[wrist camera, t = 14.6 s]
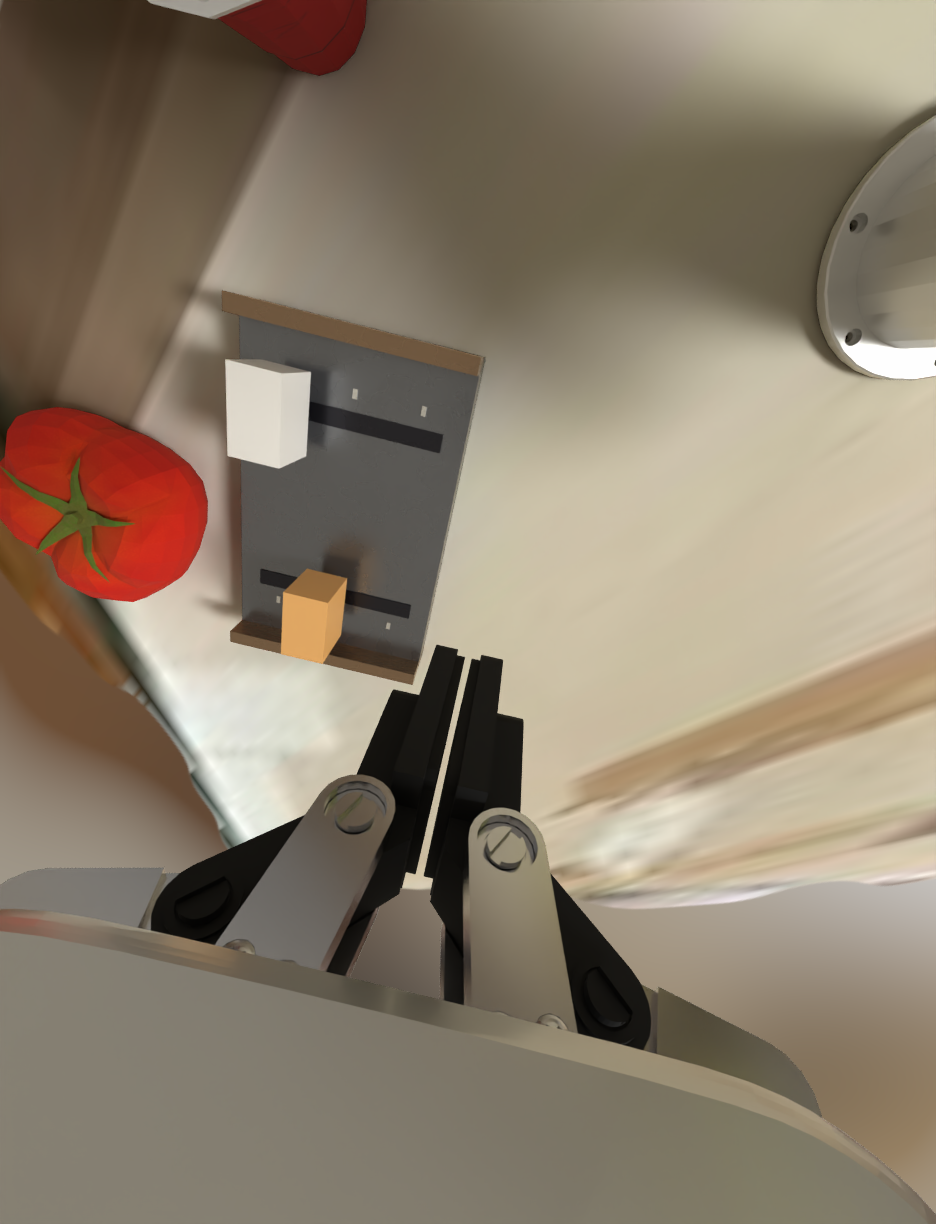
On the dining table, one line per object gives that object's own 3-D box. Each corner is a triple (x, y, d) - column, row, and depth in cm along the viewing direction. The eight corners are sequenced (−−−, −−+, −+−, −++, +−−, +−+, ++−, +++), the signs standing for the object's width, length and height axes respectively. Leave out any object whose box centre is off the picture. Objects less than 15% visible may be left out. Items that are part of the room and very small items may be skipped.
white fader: (319, 371, 29) (281, 373, 25) (314, 452, 32) (279, 468, 27) (272, 359, 29) (225, 359, 25) (270, 441, 32) (227, 455, 27)
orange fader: (353, 570, 36) (328, 603, 31) (346, 626, 38) (322, 663, 33) (314, 561, 36) (283, 592, 31) (310, 617, 38) (280, 653, 33)
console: (485, 357, 31) (481, 357, 27) (421, 655, 42) (412, 684, 38) (259, 299, 30) (221, 290, 26) (256, 615, 42) (230, 641, 38)
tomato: (264, 556, 39) (202, 605, 31) (137, 584, 41) (51, 635, 34) (180, 375, 33) (77, 380, 25) (37, 420, 35) (-97, 436, 28)
